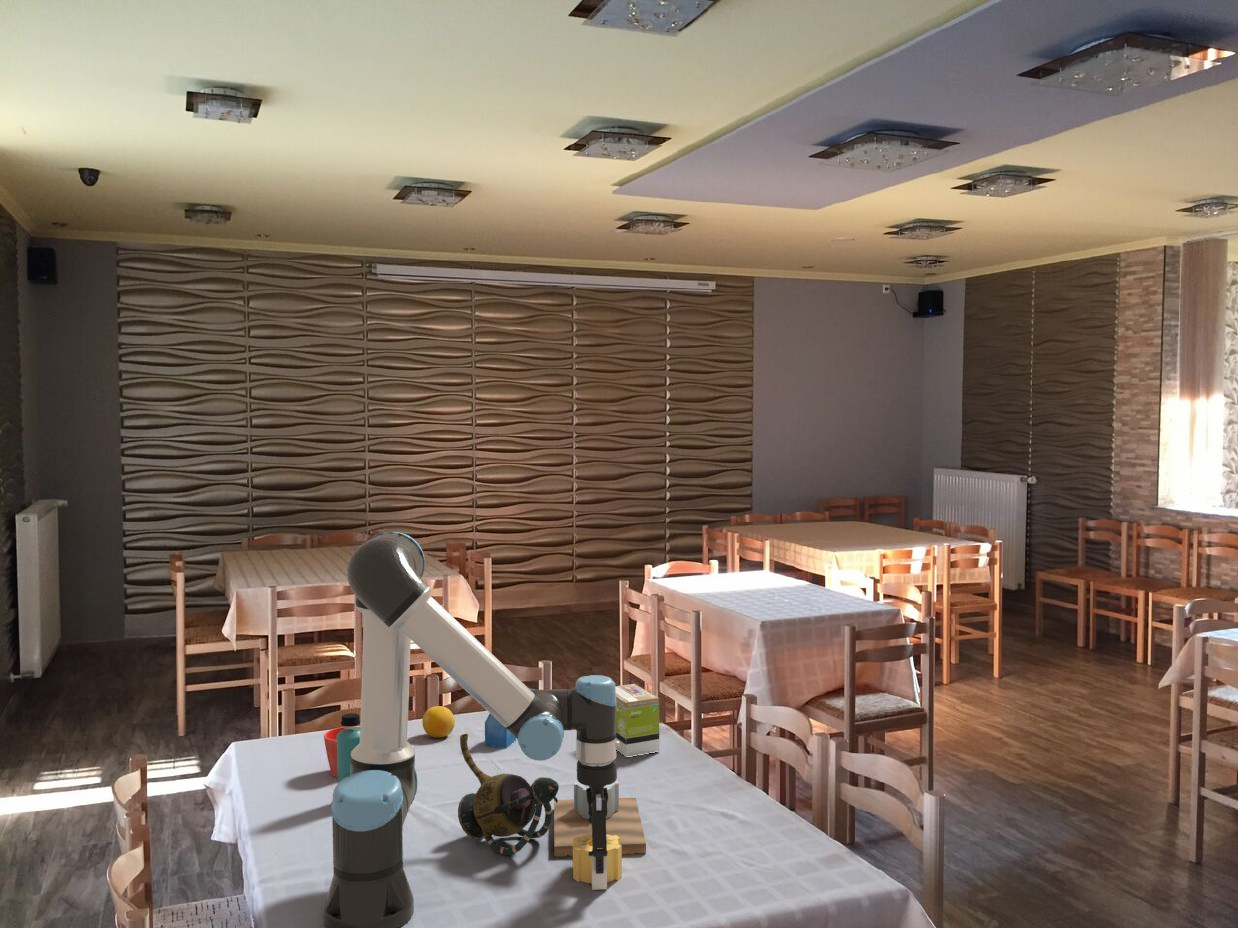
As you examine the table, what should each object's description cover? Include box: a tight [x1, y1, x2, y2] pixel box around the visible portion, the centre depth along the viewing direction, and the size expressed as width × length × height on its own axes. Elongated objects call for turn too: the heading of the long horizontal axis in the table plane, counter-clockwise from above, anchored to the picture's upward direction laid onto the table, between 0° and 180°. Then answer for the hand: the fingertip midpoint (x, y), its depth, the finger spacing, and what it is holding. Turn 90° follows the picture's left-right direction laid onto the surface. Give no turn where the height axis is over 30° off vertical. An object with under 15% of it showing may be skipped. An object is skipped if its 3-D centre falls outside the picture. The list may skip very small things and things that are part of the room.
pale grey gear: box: [573, 780, 620, 819], centre depth 214 cm, size 10×9×6 cm
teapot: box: [457, 733, 560, 856], centre depth 201 cm, size 12×25×23 cm
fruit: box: [422, 705, 455, 739], centre depth 271 cm, size 9×8×8 cm
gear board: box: [553, 797, 647, 857], centre depth 208 cm, size 24×18×9 cm
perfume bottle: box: [484, 713, 517, 749], centre depth 265 cm, size 6×6×12 cm
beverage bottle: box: [337, 712, 361, 784], centre depth 224 cm, size 6×7×20 cm
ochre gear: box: [572, 834, 623, 885], centre depth 189 cm, size 10×9×6 cm
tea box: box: [615, 683, 661, 758], centre depth 261 cm, size 15×10×15 cm, turn 25°
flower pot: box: [323, 726, 360, 778], centre depth 243 cm, size 11×11×10 cm
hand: (597, 872), depth 189 cm, fingers open, 12 cm apart
